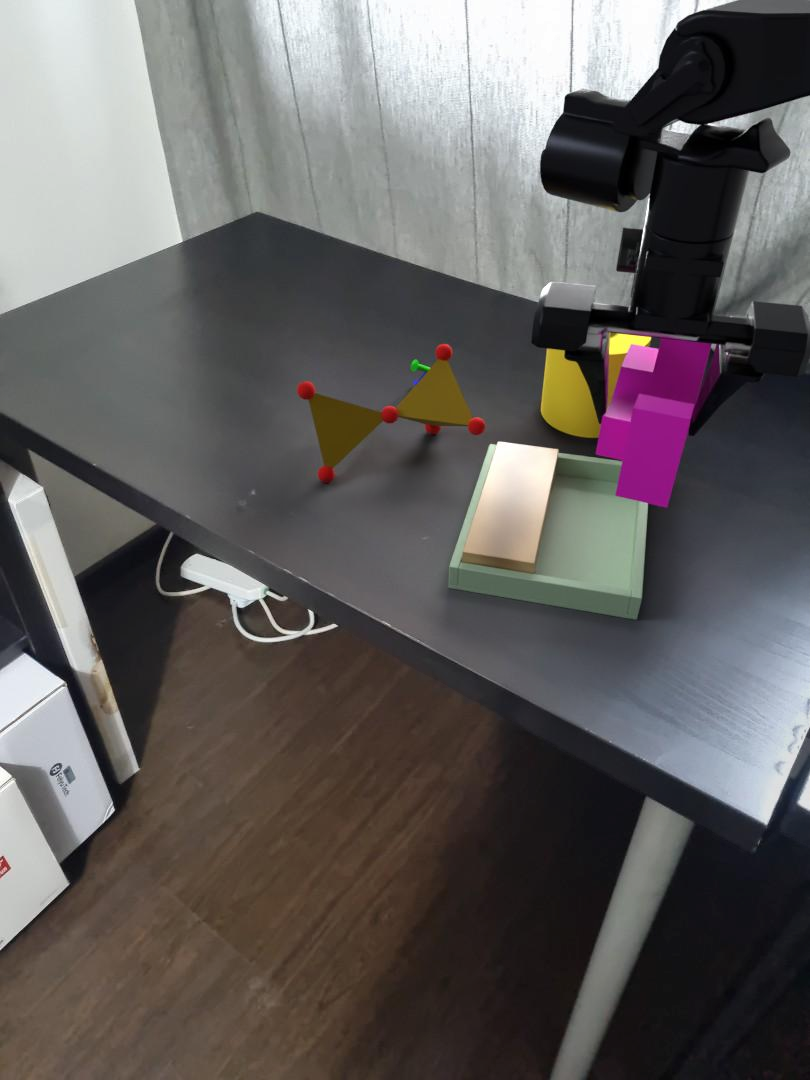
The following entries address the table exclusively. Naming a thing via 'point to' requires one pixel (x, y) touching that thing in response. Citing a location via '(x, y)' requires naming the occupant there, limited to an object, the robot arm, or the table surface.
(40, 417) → the table surface
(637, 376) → the toy block
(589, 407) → the yellow hollow cylinder
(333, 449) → the molecule model
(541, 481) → the back pad
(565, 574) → the frame
